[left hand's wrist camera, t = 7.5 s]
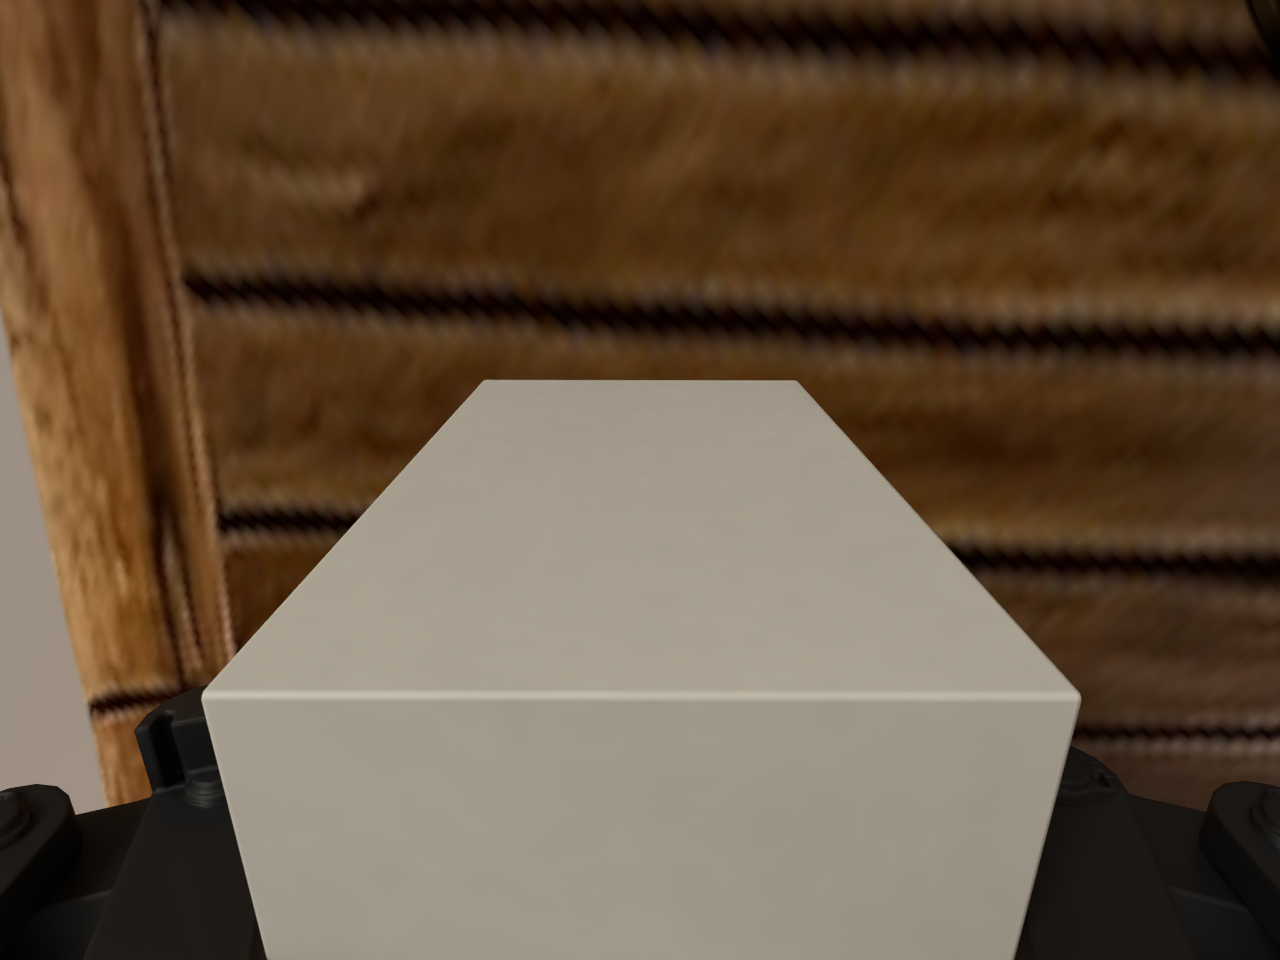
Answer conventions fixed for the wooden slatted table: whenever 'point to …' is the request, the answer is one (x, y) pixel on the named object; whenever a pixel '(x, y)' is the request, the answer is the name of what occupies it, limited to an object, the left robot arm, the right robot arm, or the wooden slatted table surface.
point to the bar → (640, 702)
